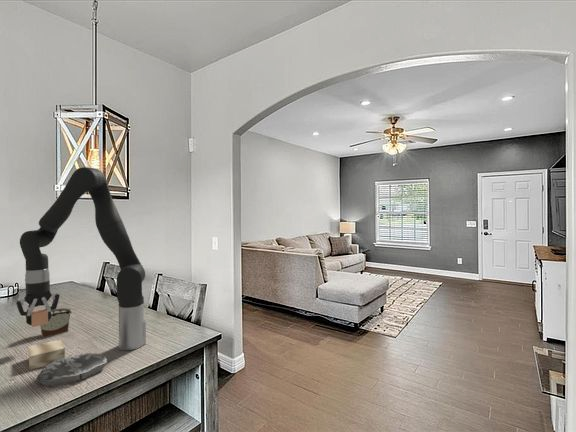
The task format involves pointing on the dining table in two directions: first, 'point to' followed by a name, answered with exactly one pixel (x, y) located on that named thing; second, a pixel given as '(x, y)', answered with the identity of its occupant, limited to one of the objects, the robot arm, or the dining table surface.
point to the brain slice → (72, 369)
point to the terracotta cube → (39, 317)
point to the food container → (56, 323)
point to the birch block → (45, 353)
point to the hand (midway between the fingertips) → (39, 322)
